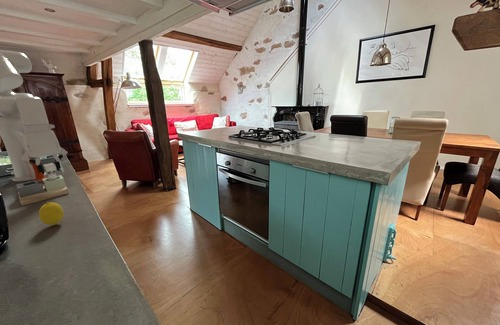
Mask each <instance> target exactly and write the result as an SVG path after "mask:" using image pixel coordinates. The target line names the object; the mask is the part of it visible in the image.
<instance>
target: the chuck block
mask: <svg viewBox="0 0 500 325" xmlns="http://www.w3.org/2000/svg"><path fill="white" fill-rule="evenodd" d="M43 186H44V184H42V182H41V180H40V179H39V180H35V179H34V180H29V181H24V182H21V183H16V189H17V193H18V192H19V194H18V196H19V195H20V197H21V198H23V197H27V196H31V195H35V194H40V193H44V192H45V191H44V188H43Z"/></svg>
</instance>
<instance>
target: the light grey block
mask: <svg viewBox="0 0 500 325" xmlns="http://www.w3.org/2000/svg"><path fill="white" fill-rule="evenodd" d="M42 166H43V169H44V172H46V174H47V175H48V178H49V180H50V181H51V180H55V179H57V177H56V176H57V174H56V171H57V169H56V166H55V163H54V162H51V163H50V162H49V163H44V164H42Z"/></svg>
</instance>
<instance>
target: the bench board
mask: <svg viewBox="0 0 500 325" xmlns="http://www.w3.org/2000/svg"><path fill="white" fill-rule="evenodd" d="M43 188H44V191H45V192H44V193H40V194H35V195H31V196H27V197H23V198H21V197H20V195H19V192H18V191H17V193H18V199H19V202H20V205H21V206H26V205H31V204H34V203H38V202H40V201H41V202H42V201H44V200H49V199H53V198H56V197H61V196H63V195H64V196H65V195H68V194H70V192H69V189H68V187H67V186H66V187H63V188H59V189H55V190H51V191H47V190H46V188H45V186H44V185H43Z"/></svg>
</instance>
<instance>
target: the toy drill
mask: <svg viewBox="0 0 500 325" xmlns="http://www.w3.org/2000/svg"><path fill="white" fill-rule="evenodd" d="M28 158H30V157H28ZM30 159H33V160H35V158H30ZM29 163H30V164H31V165H32V167H33V169H34V172H35V177H36V178H35V179H34V180H39V179H40V180H41V182H42V185H44V183H43V180H42V179H45V178H48V177H47V175H44V174H42V172H39V170H38V167H37V165H36V164H33V163H31V162H29ZM40 163H41V164H42V160H41V158H40Z"/></svg>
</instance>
